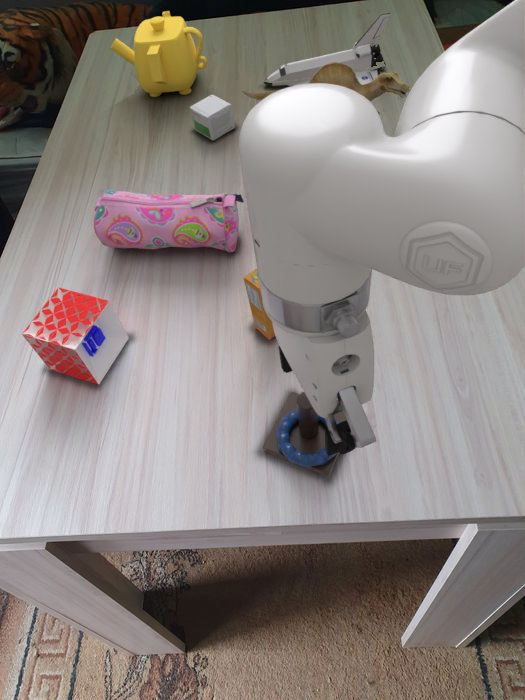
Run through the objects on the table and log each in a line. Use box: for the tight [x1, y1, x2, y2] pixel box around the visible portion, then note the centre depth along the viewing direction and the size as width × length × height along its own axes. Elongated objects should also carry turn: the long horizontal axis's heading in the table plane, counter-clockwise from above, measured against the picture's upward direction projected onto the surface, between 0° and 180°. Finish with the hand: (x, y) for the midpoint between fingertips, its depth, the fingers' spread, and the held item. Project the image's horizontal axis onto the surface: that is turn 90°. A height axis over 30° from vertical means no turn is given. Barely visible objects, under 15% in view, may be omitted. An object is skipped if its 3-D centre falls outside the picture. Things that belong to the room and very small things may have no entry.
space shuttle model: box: [263, 12, 391, 88], centre depth 102 cm, size 16×25×10 cm, turn 96°
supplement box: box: [243, 268, 276, 341], centre depth 66 cm, size 3×3×10 cm
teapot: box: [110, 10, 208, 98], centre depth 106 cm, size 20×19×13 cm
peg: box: [262, 391, 346, 478], centre depth 58 cm, size 8×8×8 cm
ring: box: [276, 408, 339, 468], centre depth 59 cm, size 7×7×1 cm
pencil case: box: [93, 189, 244, 253], centre depth 79 cm, size 21×9×9 cm, turn 82°
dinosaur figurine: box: [241, 62, 410, 116], centre depth 88 cm, size 8×26×13 cm, turn 89°
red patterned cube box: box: [21, 287, 130, 386], centre depth 68 cm, size 8×8×8 cm
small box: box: [189, 94, 236, 141], centre depth 97 cm, size 6×6×5 cm
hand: (318, 404), depth 50 cm, fingers open, 9 cm apart
